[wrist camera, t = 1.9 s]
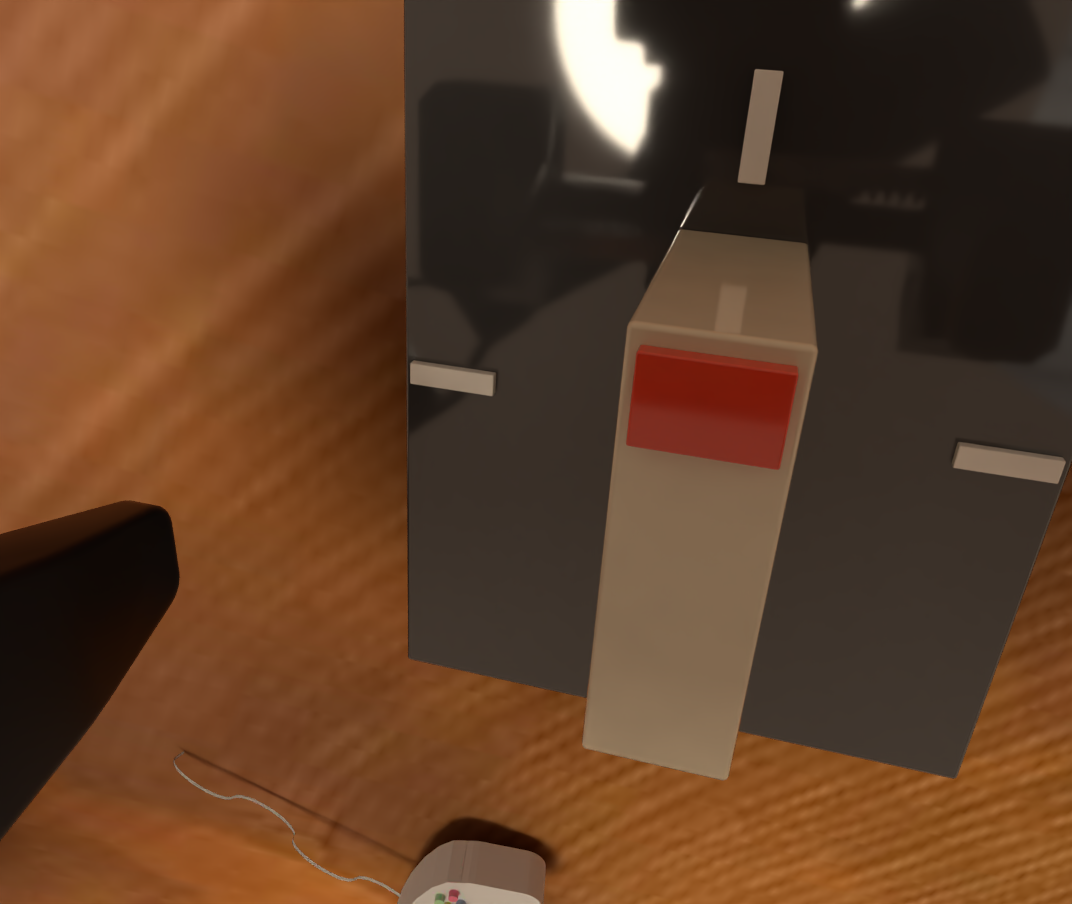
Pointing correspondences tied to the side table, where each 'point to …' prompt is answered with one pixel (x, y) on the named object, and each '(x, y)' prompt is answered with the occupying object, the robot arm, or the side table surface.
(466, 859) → the game controller
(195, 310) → the side table surface
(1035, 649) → the side table surface
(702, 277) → the knob
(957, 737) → the panel
